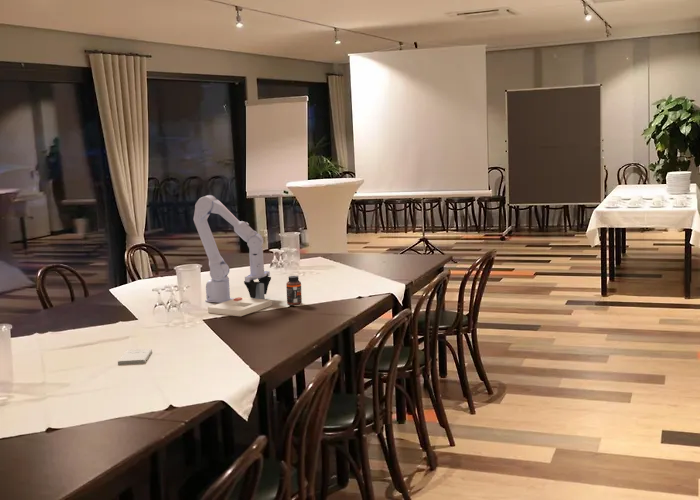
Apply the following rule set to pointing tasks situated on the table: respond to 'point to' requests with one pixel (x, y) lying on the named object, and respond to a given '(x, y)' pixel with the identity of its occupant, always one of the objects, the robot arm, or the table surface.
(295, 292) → the supplement bottle
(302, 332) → the table surface
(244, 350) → the table surface
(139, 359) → the external hard drive
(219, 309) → the socket plate
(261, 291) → the plug
